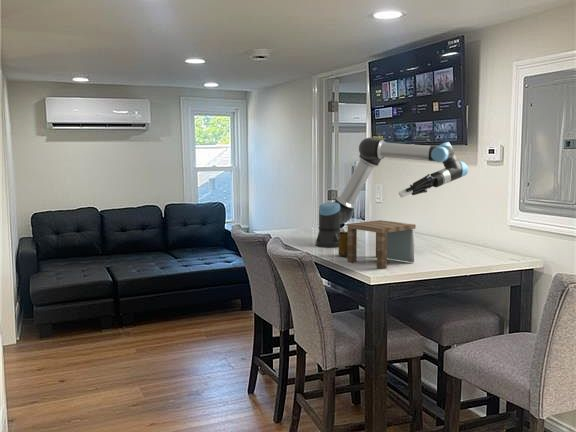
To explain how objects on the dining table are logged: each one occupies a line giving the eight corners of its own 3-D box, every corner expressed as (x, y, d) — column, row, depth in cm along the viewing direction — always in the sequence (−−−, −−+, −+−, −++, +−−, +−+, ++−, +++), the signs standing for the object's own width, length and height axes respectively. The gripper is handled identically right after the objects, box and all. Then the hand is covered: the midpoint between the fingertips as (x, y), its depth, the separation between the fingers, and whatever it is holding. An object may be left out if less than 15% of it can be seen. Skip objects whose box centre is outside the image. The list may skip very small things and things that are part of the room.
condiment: (343, 254, 280) (343, 230, 279) (357, 256, 275) (357, 232, 273) (334, 256, 275) (334, 232, 274) (348, 258, 269) (348, 233, 268)
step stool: (381, 269, 243) (382, 228, 241) (347, 261, 260) (347, 223, 258) (414, 263, 256) (415, 224, 254) (379, 256, 273) (380, 220, 271)
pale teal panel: (412, 262, 255) (413, 230, 253) (385, 258, 265) (385, 227, 263) (414, 261, 256) (415, 229, 254) (387, 257, 266) (387, 227, 265)
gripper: (446, 175, 274) (406, 192, 268) (440, 191, 285) (402, 207, 279) (438, 164, 278) (398, 181, 272) (432, 180, 289) (394, 197, 283)
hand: (400, 194), depth 276 cm, fingers closed
